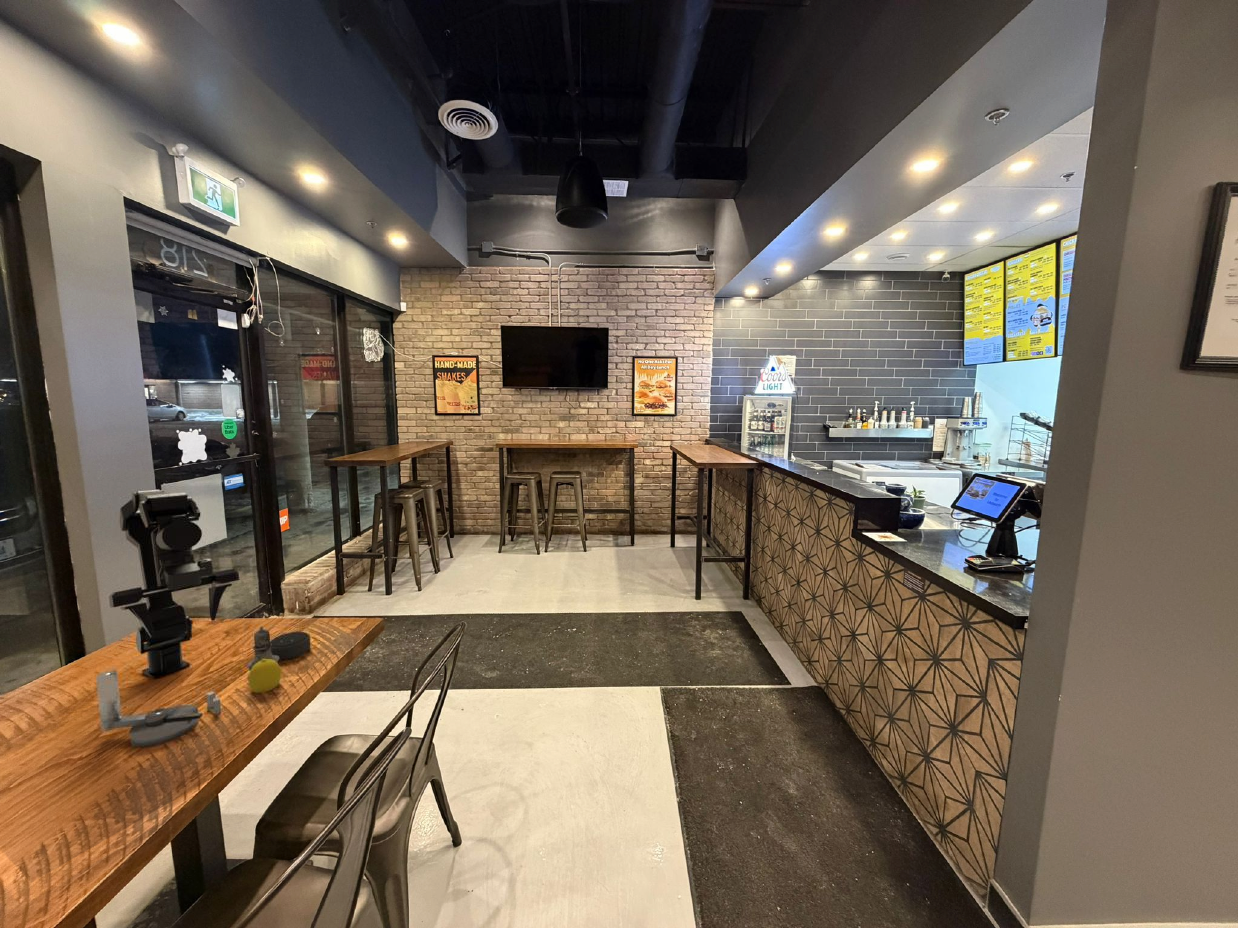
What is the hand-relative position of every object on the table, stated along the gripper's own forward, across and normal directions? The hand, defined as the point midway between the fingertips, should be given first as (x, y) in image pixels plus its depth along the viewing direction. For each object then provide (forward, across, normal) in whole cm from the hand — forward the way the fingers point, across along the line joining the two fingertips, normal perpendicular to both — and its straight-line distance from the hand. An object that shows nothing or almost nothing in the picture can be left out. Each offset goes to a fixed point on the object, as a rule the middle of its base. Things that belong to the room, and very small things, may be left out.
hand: (183, 628), depth 93 cm
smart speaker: (+14, +20, +12) cm, 28 cm away
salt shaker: (+16, +13, +4) cm, 21 cm away
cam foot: (+17, -6, -6) cm, 19 cm away
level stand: (+18, -6, -5) cm, 20 cm away
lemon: (+18, +11, -4) cm, 21 cm away
